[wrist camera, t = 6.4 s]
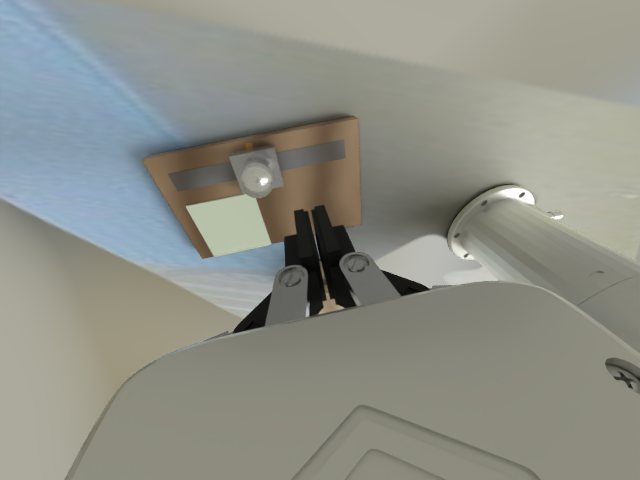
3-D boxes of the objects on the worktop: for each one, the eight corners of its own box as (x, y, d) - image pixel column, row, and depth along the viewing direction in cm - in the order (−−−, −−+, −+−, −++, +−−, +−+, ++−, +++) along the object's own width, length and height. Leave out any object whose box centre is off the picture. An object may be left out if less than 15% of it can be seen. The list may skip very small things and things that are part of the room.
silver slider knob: (274, 144, 21) (274, 157, 18) (283, 180, 23) (285, 198, 20) (231, 152, 21) (223, 167, 17) (244, 188, 23) (239, 207, 20)
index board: (353, 116, 22) (358, 118, 21) (358, 218, 30) (361, 224, 28) (148, 155, 21) (140, 160, 20) (205, 251, 29) (202, 259, 27)
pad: (253, 192, 24) (253, 192, 24) (271, 243, 28) (271, 244, 28) (186, 205, 23) (185, 206, 23) (214, 256, 28) (214, 257, 27)
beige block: (336, 257, 33) (347, 287, 28) (339, 276, 36) (349, 307, 31) (302, 264, 33) (307, 296, 28) (307, 283, 35) (312, 316, 31)
